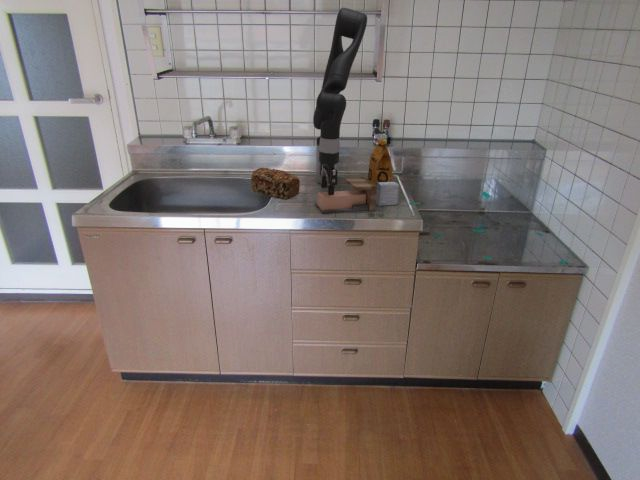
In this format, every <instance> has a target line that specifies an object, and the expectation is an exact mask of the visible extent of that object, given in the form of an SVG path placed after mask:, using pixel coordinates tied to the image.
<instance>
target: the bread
mask: <svg viewBox="0 0 640 480" xmlns="http://www.w3.org/2000/svg"><path fill="white" fill-rule="evenodd" d="M250 181H251V189H252V191H253V192H254V193H256V192H257V193H258V194H262V195H266V196H269V197H272V198H280V199H284V200H287V199H291V198H292V197H294V196H295V197H296V196H297V195H299V193H300V189H301V188H300V186H301V185H300V184H301V183H300V182H301V180H300V179H299V177H298V176H296V175H295V174H293V173H290V172H289V171H285V170H281V169H276V168H269V167H259V168H257V169H255V170H253V172H252V173H251V178H250Z"/></svg>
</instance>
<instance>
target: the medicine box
mask: <svg viewBox="0 0 640 480" xmlns="http://www.w3.org/2000/svg"><path fill="white" fill-rule="evenodd" d="M399 191H400V184H399V183H397V182H396V181H391V182H378V183H377V193H376V197H375V204H377V205H378V207H379V206H380V207H381V206H382V207H383V206H396V205H398V200H399V199H398V198H399Z"/></svg>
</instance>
